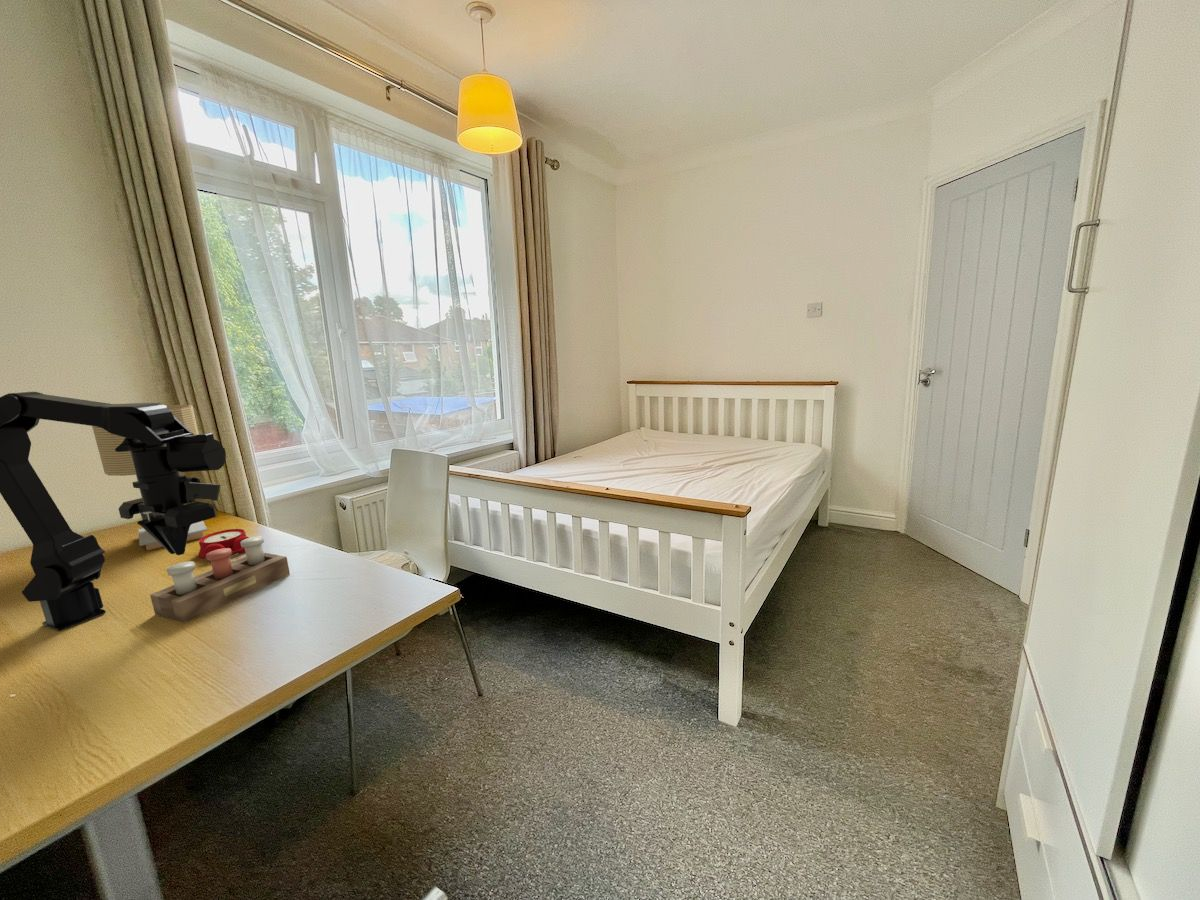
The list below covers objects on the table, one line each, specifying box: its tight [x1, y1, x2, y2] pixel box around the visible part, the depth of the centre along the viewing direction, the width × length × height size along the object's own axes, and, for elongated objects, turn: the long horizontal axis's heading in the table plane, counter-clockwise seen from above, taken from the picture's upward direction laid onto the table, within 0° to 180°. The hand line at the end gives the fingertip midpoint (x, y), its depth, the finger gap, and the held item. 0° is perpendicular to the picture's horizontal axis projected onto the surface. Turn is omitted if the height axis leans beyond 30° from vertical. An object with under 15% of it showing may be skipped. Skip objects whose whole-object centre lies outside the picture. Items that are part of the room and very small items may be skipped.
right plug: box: [240, 535, 265, 565], centre depth 102 cm, size 4×4×5 cm
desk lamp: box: [91, 404, 208, 551], centre depth 126 cm, size 20×20×35 cm
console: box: [149, 552, 291, 624], centre depth 97 cm, size 20×9×4 cm, turn 158°
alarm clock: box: [198, 528, 250, 560], centre depth 118 cm, size 10×6×15 cm
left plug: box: [166, 561, 197, 595], centre depth 90 cm, size 4×4×5 cm
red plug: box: [205, 548, 233, 579], centre depth 96 cm, size 4×4×5 cm
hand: (177, 553), depth 89 cm, fingers closed
